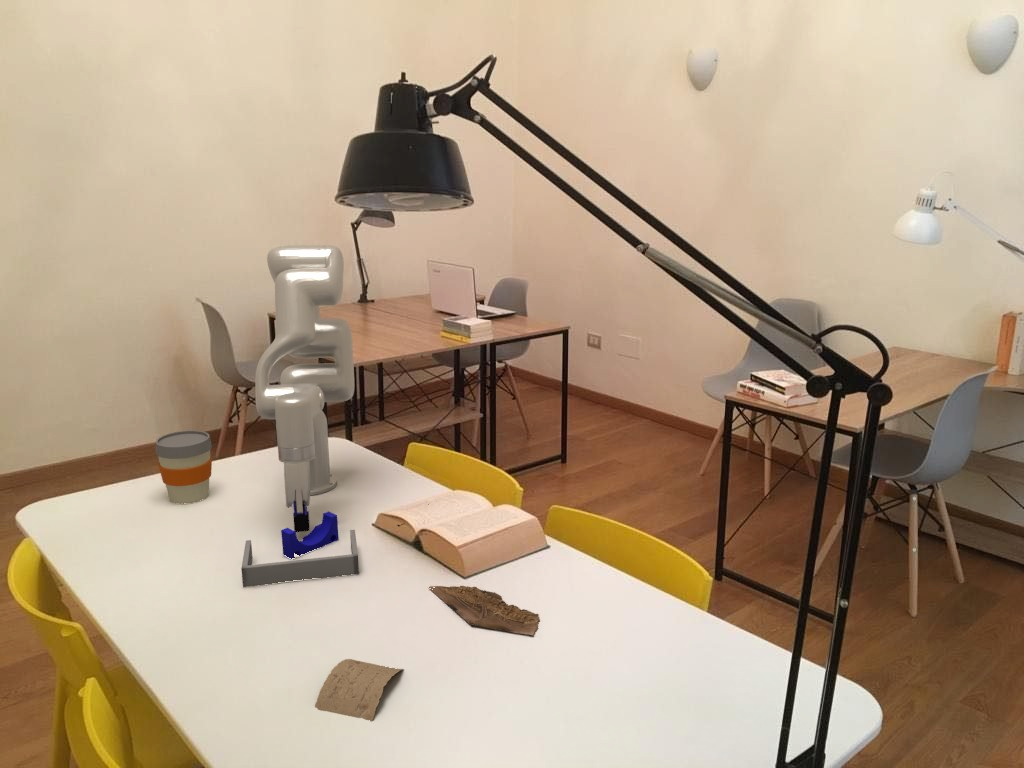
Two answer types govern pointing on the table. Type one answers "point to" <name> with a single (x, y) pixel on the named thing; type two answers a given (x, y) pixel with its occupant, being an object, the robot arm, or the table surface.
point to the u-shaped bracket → (298, 567)
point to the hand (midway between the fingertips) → (302, 530)
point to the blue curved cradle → (311, 537)
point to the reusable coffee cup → (185, 465)
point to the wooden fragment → (487, 609)
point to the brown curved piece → (354, 688)
